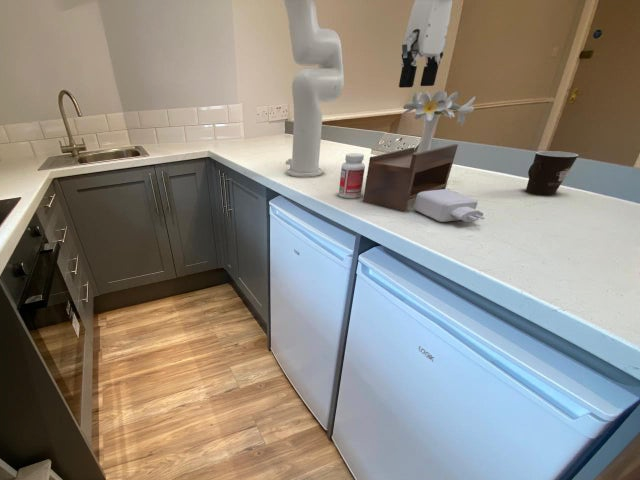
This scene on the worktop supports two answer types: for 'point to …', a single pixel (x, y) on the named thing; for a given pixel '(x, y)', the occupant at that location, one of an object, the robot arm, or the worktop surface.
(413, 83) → the robot arm
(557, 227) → the worktop surface
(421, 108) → the flower vase
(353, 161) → the pill bottle
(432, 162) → the box
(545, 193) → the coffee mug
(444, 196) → the charger
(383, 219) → the worktop surface
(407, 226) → the worktop surface
